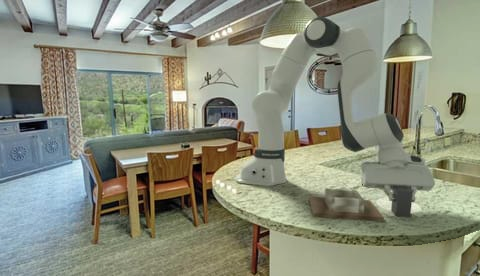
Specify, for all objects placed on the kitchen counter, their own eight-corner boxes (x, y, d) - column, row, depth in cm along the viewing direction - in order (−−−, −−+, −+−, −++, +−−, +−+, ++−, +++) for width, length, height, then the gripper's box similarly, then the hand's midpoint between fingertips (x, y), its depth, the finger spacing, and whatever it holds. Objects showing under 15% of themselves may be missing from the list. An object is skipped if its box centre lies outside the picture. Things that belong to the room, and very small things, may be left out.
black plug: (396, 216, 83) (398, 190, 82) (391, 210, 87) (393, 186, 86) (410, 216, 83) (412, 191, 82) (404, 211, 87) (406, 187, 86)
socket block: (312, 216, 83) (313, 199, 82) (309, 200, 97) (309, 185, 96) (383, 221, 80) (384, 204, 79) (369, 203, 93) (370, 188, 93)
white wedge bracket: (351, 175, 119) (363, 159, 116) (372, 189, 116) (385, 173, 113) (350, 177, 116) (362, 161, 113) (372, 192, 113) (385, 175, 110)
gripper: (362, 156, 91) (368, 194, 83) (429, 158, 88) (443, 198, 80) (358, 166, 96) (364, 203, 88) (421, 168, 93) (434, 207, 85)
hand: (402, 200), depth 84 cm, fingers closed on black plug, 4 cm apart
